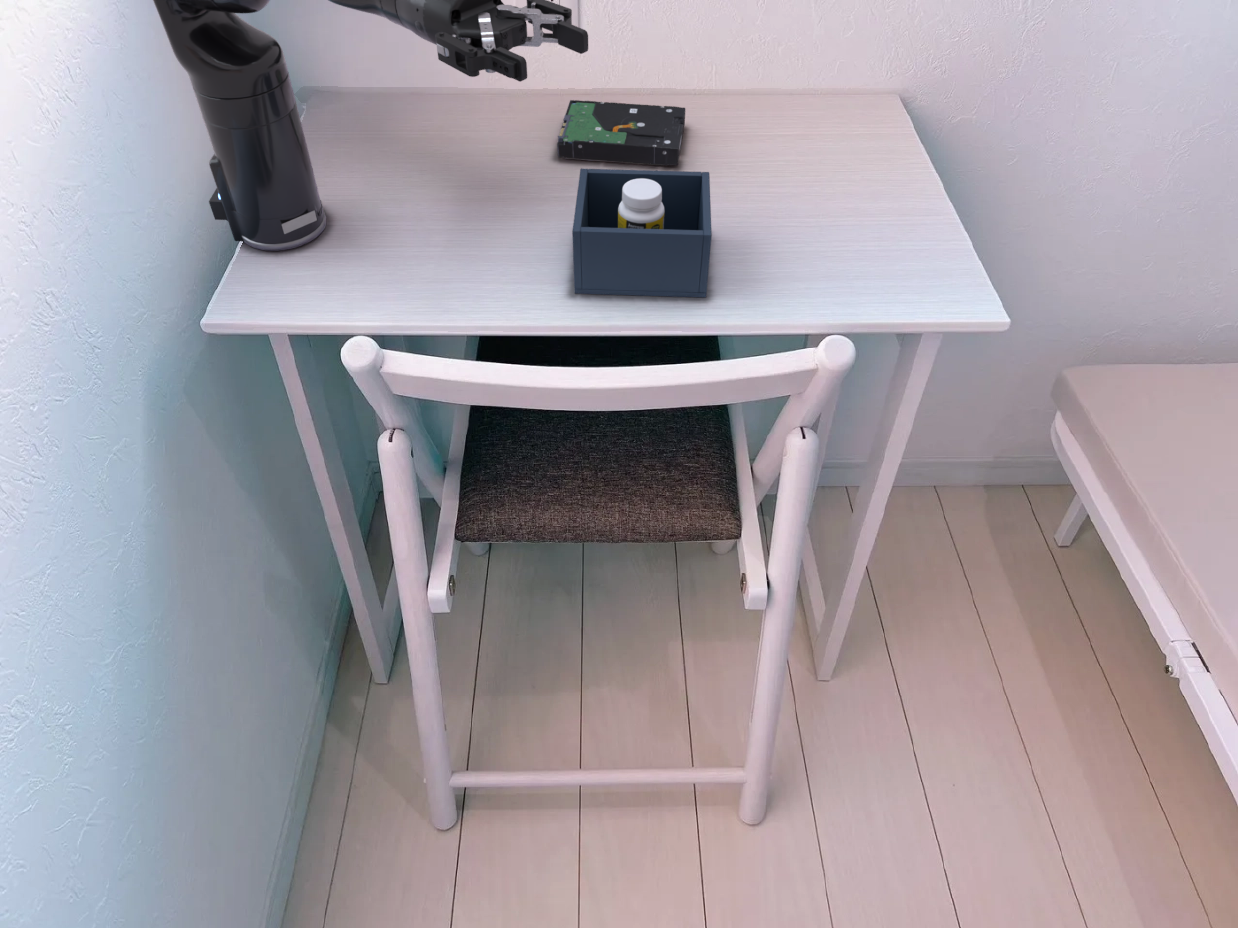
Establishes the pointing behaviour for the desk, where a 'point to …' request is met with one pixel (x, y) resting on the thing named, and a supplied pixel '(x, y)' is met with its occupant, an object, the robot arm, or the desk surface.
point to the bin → (642, 236)
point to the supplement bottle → (641, 205)
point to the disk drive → (622, 133)
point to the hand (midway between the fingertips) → (556, 56)
